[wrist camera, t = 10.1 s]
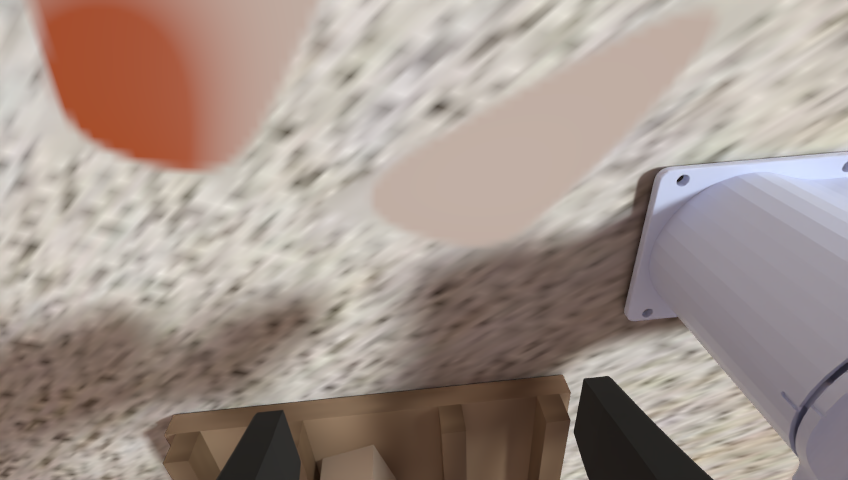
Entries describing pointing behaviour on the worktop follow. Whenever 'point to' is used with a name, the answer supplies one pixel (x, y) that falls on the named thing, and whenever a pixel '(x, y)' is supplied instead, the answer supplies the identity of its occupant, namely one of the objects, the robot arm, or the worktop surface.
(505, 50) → the worktop surface
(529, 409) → the rack
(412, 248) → the worktop surface
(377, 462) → the beige rectangular board
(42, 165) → the worktop surface
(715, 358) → the robot arm
